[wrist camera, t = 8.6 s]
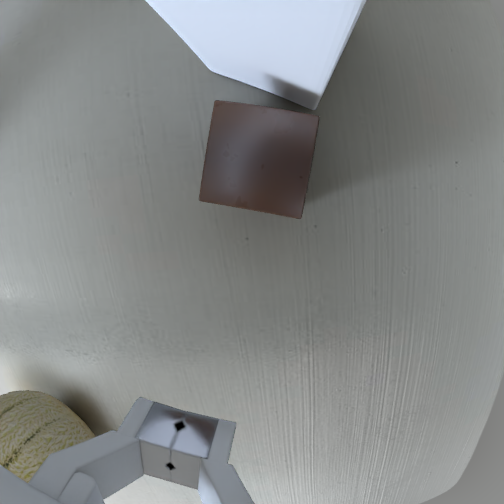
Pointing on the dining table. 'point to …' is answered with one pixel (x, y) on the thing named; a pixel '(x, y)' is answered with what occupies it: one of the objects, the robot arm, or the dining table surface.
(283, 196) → the walnut block
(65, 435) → the cantaloupe
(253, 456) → the dining table surface
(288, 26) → the milk carton
